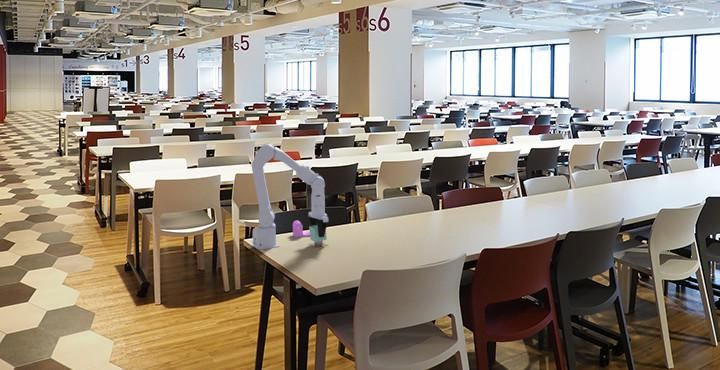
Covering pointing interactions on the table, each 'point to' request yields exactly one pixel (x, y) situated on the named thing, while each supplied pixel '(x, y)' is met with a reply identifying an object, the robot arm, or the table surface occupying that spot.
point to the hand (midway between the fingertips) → (318, 235)
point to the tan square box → (318, 244)
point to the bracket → (299, 230)
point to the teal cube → (316, 234)
